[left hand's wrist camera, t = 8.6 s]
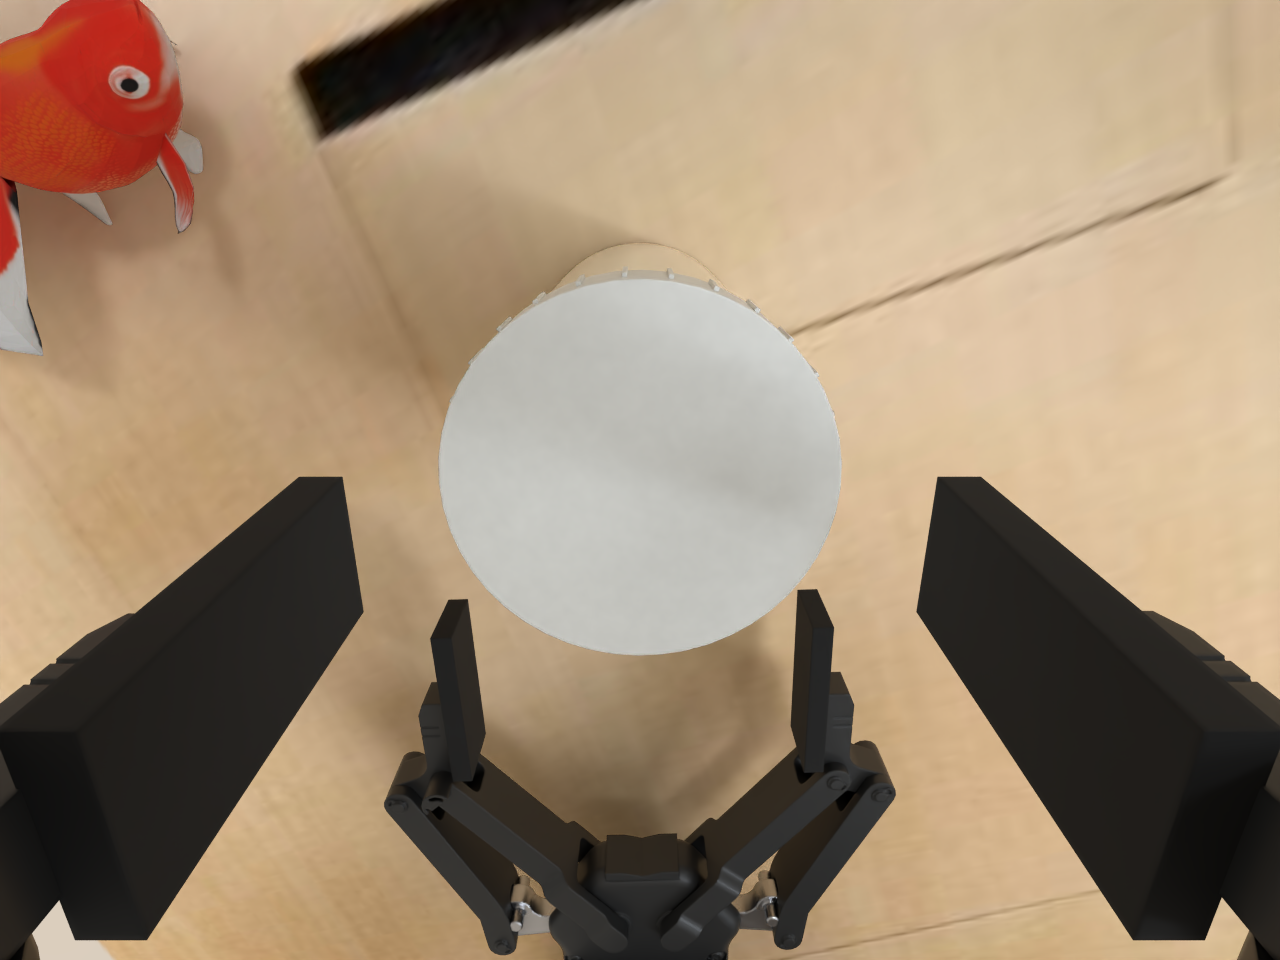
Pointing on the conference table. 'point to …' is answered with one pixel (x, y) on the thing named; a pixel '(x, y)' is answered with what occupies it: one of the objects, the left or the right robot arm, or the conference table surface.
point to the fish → (86, 127)
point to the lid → (639, 463)
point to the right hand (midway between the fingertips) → (631, 611)
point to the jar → (639, 262)
